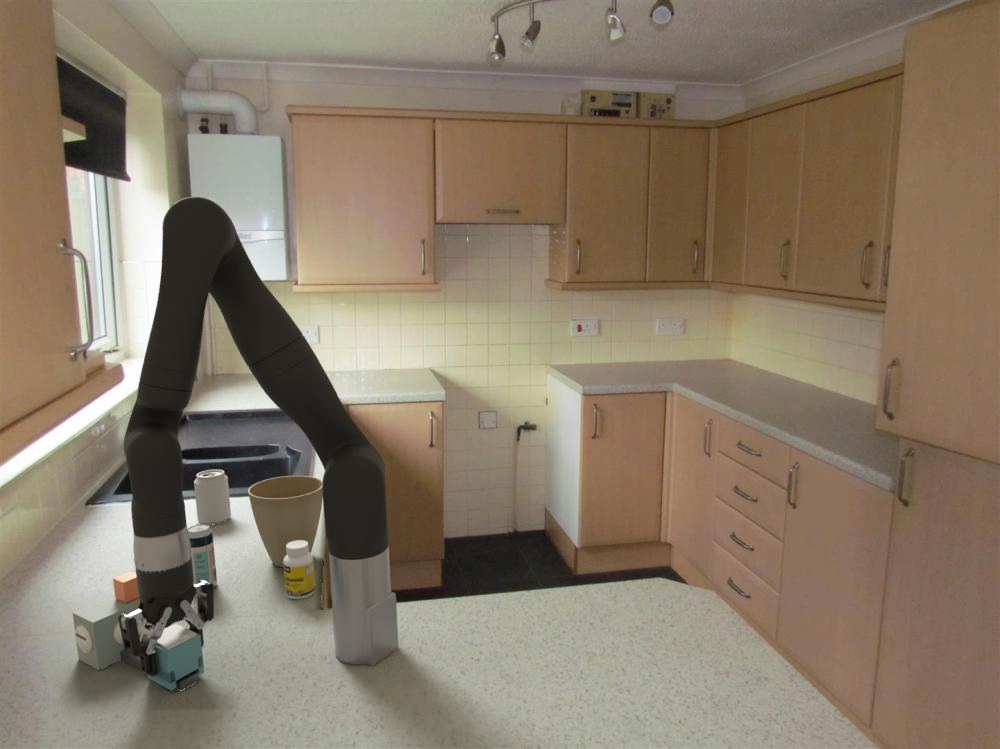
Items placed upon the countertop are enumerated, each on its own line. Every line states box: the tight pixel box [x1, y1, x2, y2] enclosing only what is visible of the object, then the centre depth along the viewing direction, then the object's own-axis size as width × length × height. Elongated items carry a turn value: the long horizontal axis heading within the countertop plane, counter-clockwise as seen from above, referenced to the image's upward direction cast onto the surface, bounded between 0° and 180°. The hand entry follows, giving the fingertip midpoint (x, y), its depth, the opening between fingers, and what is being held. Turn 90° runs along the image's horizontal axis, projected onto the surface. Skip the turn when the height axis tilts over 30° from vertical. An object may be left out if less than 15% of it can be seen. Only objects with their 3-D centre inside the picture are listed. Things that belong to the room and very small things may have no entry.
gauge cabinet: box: [72, 594, 155, 671], centre depth 117 cm, size 6×10×8 cm, turn 147°
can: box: [193, 469, 232, 526], centre depth 173 cm, size 8×8×12 cm
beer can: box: [187, 523, 218, 587], centre depth 138 cm, size 5×5×12 cm
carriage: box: [146, 623, 205, 691], centre depth 109 cm, size 6×5×6 cm
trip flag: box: [112, 570, 140, 603], centre depth 118 cm, size 3×3×4 cm
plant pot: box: [247, 475, 323, 568], centre depth 150 cm, size 15×15×16 cm
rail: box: [120, 650, 200, 691], centre depth 112 cm, size 16×3×2 cm, turn 57°
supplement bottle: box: [283, 540, 316, 600], centre depth 135 cm, size 5×5×10 cm
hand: (174, 662), depth 109 cm, fingers open, 6 cm apart
